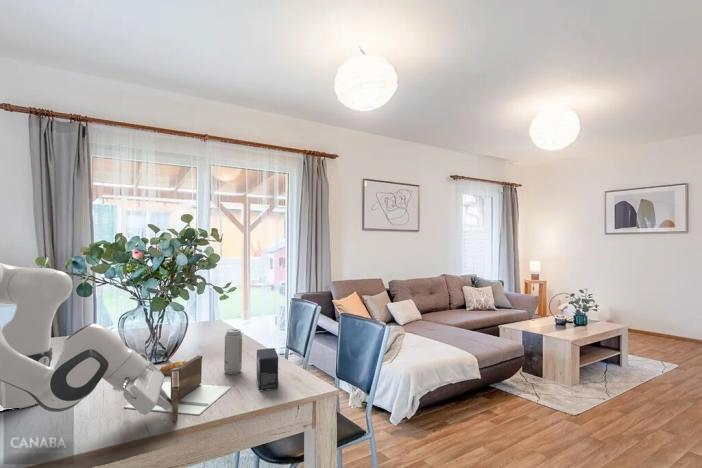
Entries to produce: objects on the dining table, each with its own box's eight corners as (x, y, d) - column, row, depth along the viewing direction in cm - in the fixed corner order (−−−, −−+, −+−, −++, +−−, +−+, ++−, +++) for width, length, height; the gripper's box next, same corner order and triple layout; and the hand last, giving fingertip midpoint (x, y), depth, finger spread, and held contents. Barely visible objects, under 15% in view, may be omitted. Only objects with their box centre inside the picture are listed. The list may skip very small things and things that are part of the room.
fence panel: (171, 421, 98) (172, 387, 98) (171, 402, 109) (172, 371, 109) (178, 420, 98) (179, 386, 99) (177, 401, 109) (178, 371, 109)
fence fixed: (168, 404, 109) (169, 370, 109) (196, 385, 124) (197, 354, 124) (175, 405, 109) (176, 370, 109) (202, 385, 123) (203, 355, 123)
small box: (255, 379, 130) (255, 348, 130) (274, 377, 132) (274, 347, 132) (258, 391, 120) (258, 358, 120) (278, 389, 122) (279, 356, 122)
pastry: (158, 377, 130) (158, 366, 130) (159, 371, 136) (159, 361, 136) (187, 374, 134) (188, 363, 134) (187, 368, 140) (187, 358, 140)
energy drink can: (224, 369, 138) (225, 328, 138) (241, 368, 140) (242, 328, 140) (223, 375, 132) (224, 333, 133) (241, 374, 134) (242, 332, 134)
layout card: (123, 408, 107) (123, 406, 107) (166, 382, 125) (166, 381, 125) (199, 415, 103) (199, 413, 103) (231, 387, 122) (231, 386, 122)
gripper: (131, 376, 87) (176, 413, 91) (145, 351, 107) (181, 382, 110) (108, 398, 86) (155, 434, 89) (126, 369, 105) (164, 399, 108)
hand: (169, 405), depth 100 cm, fingers closed
